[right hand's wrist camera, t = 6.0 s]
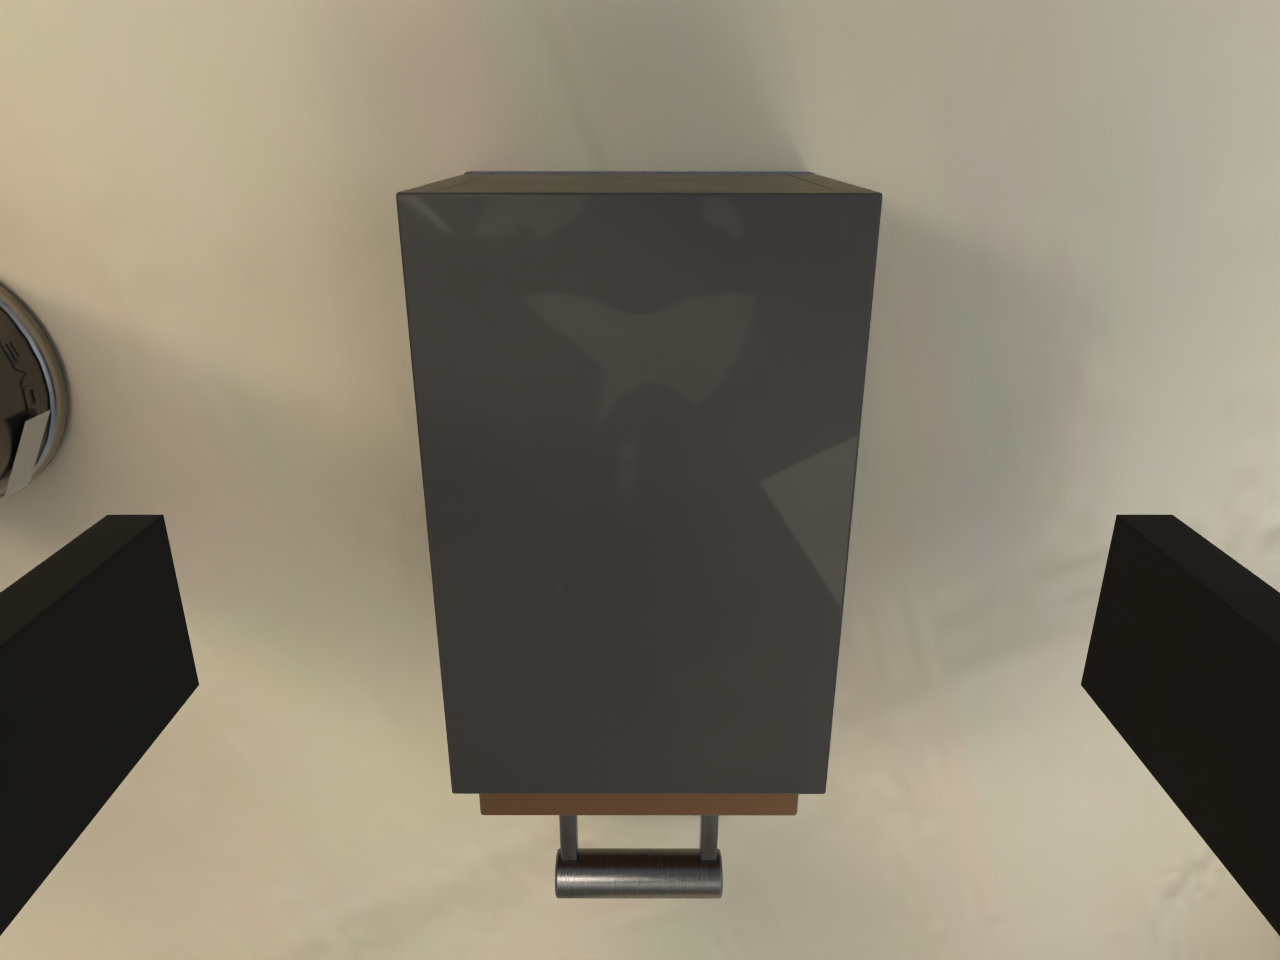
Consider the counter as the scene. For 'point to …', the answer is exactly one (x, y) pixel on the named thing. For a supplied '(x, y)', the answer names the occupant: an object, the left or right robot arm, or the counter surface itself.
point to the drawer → (638, 867)
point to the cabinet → (639, 470)
